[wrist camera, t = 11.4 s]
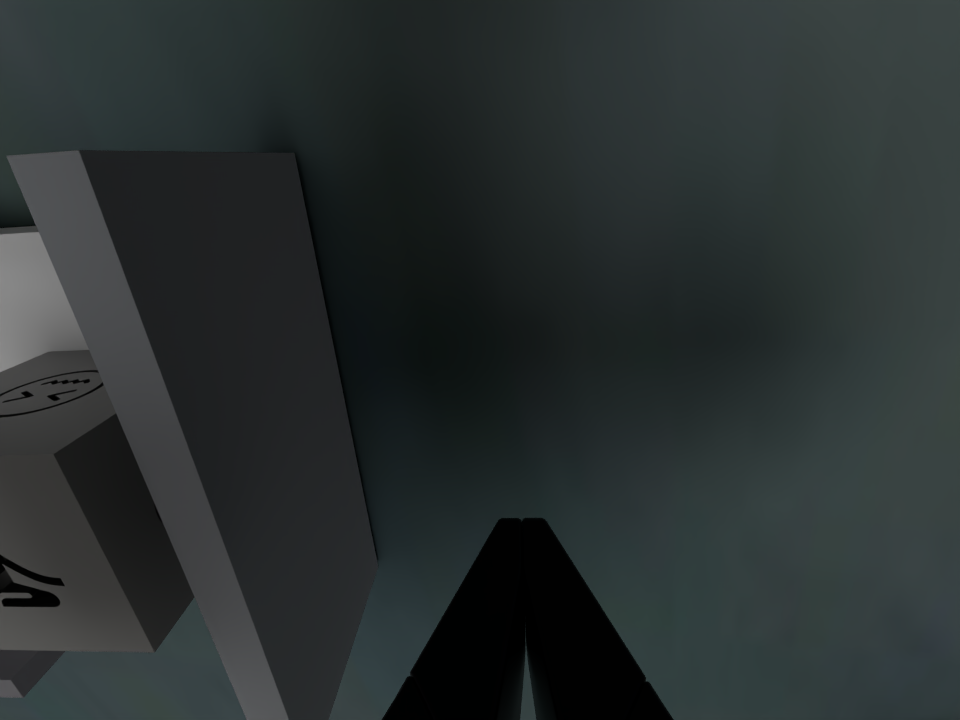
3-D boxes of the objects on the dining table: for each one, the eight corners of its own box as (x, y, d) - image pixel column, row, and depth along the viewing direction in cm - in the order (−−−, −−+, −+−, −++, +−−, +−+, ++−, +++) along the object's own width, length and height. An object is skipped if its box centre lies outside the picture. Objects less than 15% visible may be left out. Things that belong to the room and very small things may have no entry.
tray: (294, 153, 12) (78, 150, 6) (378, 566, 17) (309, 777, 11) (-124, 183, 13) (-665, 208, 7) (82, 565, 18) (-120, 759, 12)
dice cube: (116, 497, 15) (-59, 649, 10) (49, 351, 13) (-207, 459, 8) (267, 495, 14) (154, 652, 10) (221, 344, 12) (52, 453, 8)
